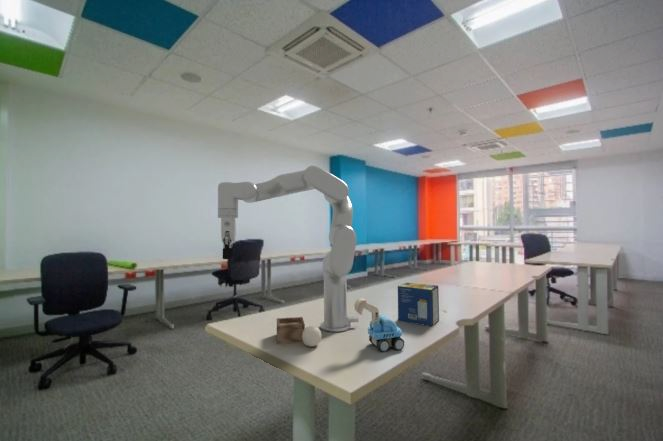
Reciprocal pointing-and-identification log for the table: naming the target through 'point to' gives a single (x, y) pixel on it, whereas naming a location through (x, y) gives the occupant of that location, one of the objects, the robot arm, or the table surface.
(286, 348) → the table surface
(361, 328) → the table surface
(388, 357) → the table surface
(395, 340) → the toy excavator
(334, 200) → the robot arm
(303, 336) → the steamed bun
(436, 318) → the protein box
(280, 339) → the walnut block
